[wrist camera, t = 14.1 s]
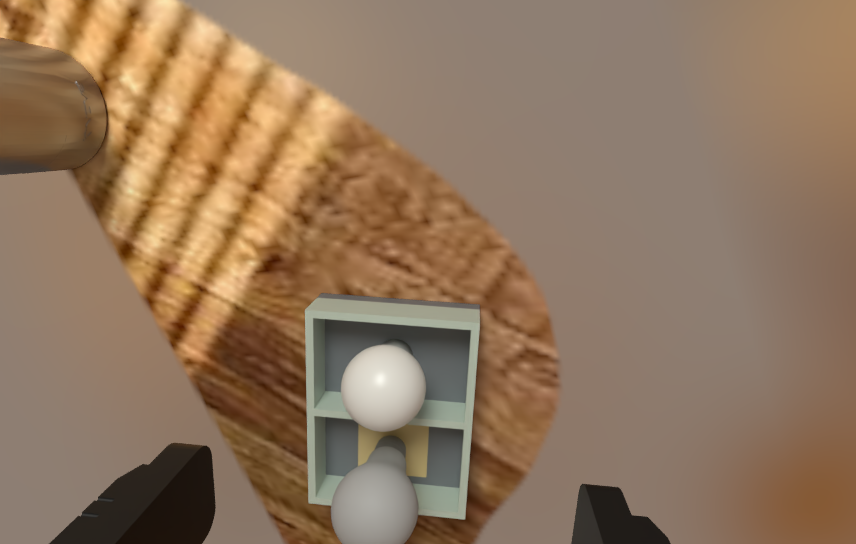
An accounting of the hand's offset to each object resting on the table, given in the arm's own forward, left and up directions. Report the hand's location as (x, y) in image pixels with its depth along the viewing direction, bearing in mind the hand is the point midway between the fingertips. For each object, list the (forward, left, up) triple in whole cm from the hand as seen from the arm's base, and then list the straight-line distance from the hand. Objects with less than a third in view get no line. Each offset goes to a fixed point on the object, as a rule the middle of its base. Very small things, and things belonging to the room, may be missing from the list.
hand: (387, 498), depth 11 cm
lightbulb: (-4, -18, -29) cm, 34 cm away
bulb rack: (-4, -14, -30) cm, 33 cm away
